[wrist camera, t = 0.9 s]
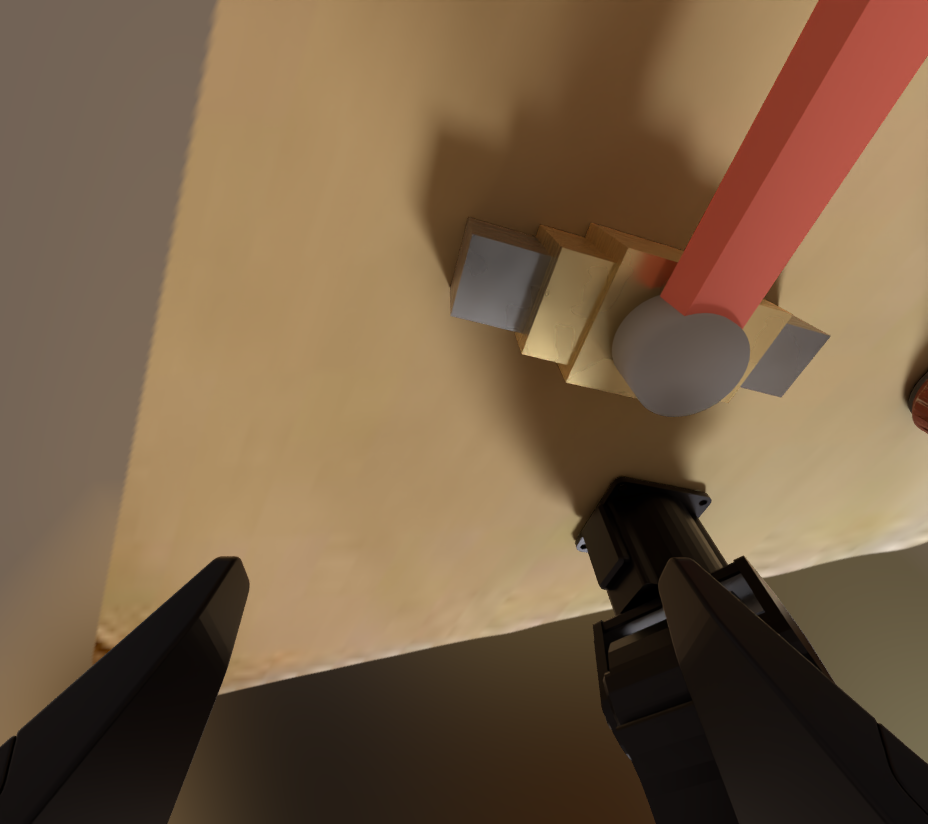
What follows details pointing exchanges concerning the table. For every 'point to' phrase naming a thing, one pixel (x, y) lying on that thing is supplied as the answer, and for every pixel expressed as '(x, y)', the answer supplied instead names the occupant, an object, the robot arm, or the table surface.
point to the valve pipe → (599, 302)
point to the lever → (770, 200)
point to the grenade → (920, 403)
